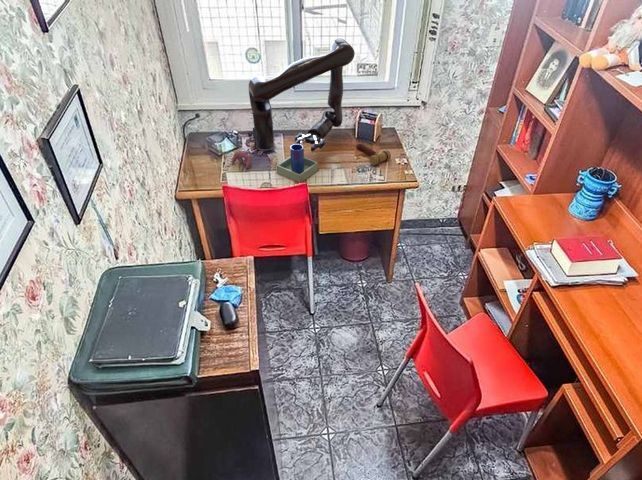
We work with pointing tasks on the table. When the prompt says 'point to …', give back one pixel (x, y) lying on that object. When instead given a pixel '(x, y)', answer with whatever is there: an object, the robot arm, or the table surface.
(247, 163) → the video game controller
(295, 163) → the pencil cup
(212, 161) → the table surface
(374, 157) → the gavel
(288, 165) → the bin
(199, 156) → the table surface
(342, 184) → the table surface
